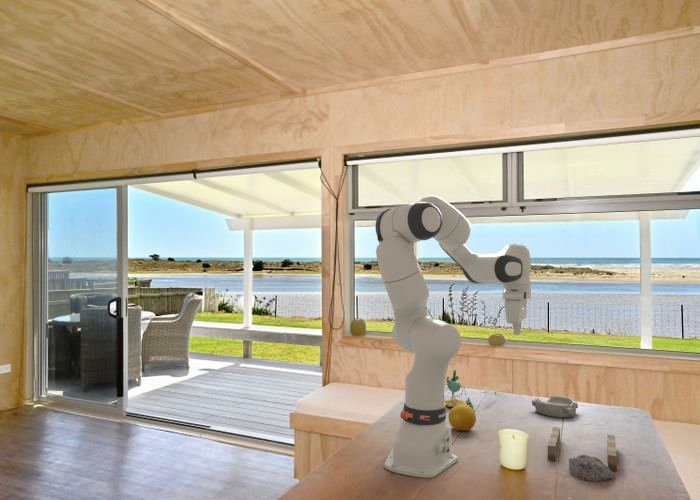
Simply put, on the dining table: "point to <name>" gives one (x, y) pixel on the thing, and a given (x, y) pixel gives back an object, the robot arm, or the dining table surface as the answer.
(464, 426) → the fruit
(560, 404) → the dish
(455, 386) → the green and yellow piece
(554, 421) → the dining table surface
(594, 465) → the rock
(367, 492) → the dining table surface
